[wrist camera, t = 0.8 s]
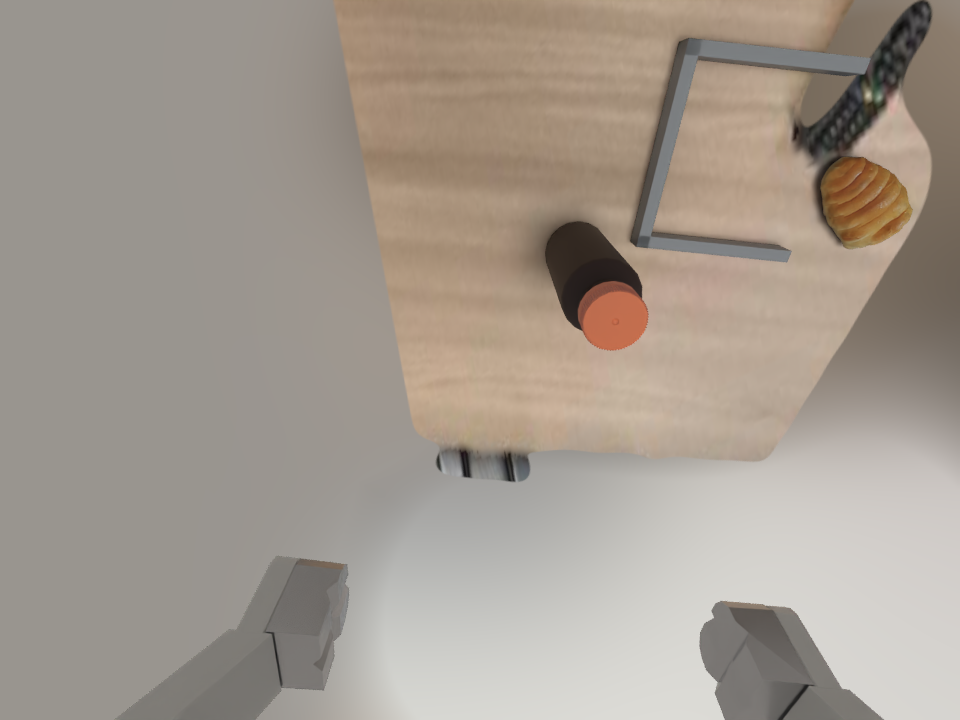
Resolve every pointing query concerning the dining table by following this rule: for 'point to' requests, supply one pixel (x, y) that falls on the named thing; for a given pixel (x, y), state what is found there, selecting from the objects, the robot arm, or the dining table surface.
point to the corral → (671, 122)
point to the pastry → (863, 202)
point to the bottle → (596, 286)
